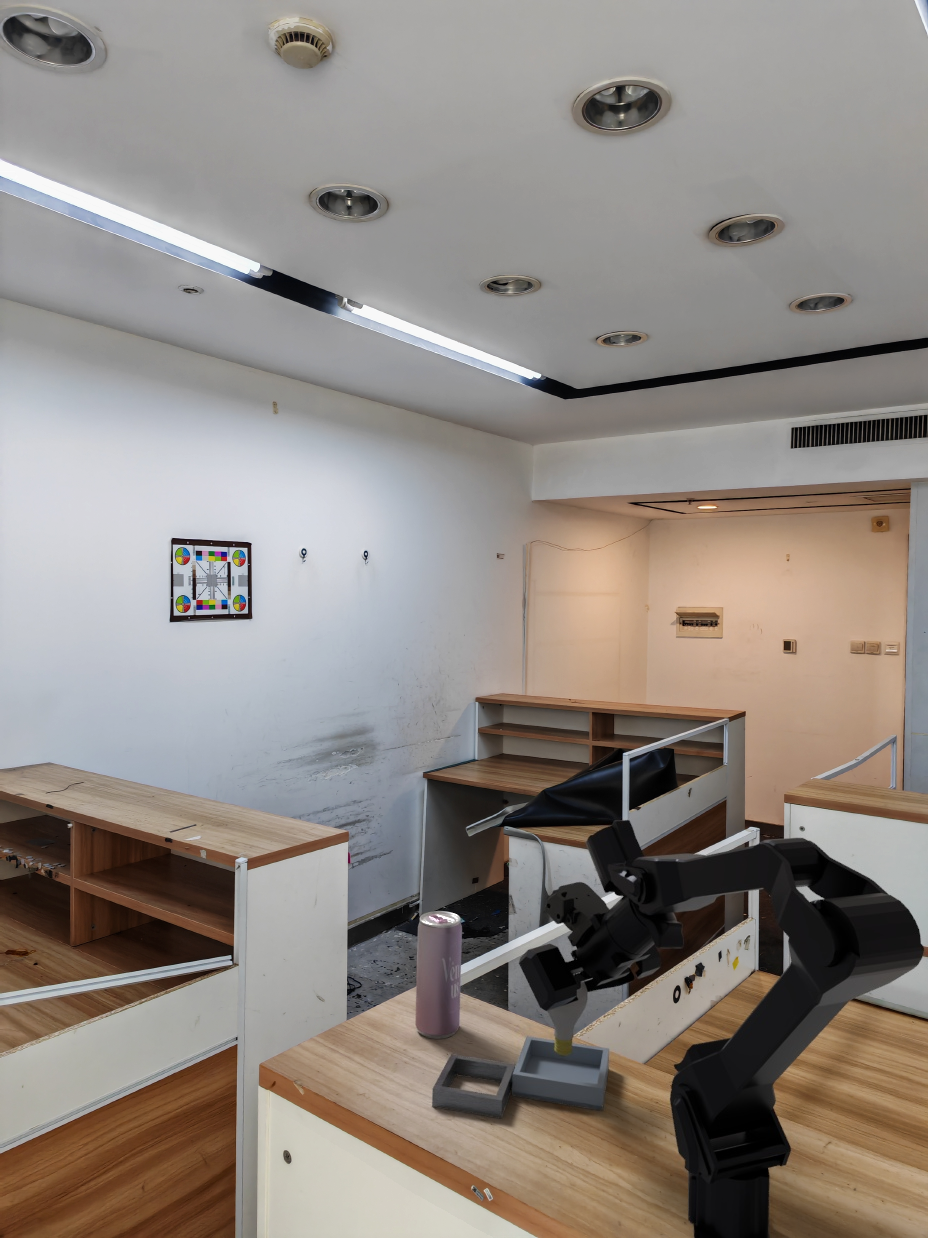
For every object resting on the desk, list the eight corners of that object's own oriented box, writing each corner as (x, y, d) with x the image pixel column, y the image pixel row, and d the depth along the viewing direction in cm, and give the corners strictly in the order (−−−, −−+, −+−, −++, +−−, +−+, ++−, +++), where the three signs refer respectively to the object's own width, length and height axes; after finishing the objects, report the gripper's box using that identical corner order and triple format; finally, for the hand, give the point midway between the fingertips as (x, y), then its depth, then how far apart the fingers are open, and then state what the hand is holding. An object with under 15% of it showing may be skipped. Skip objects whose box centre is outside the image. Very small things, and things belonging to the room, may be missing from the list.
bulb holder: (514, 1081, 98) (515, 1064, 98) (501, 1119, 90) (501, 1100, 90) (450, 1070, 100) (451, 1054, 100) (432, 1106, 92) (432, 1089, 92)
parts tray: (608, 1069, 101) (609, 1048, 101) (602, 1111, 92) (602, 1089, 92) (526, 1056, 104) (526, 1036, 104) (512, 1096, 95) (512, 1074, 95)
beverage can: (441, 1015, 114) (443, 907, 115) (468, 1031, 110) (471, 920, 110) (406, 1027, 111) (409, 916, 111) (433, 1045, 106) (436, 929, 106)
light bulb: (584, 1070, 95) (587, 982, 95) (538, 1064, 96) (540, 977, 96) (587, 1048, 100) (589, 965, 100) (543, 1042, 101) (545, 960, 101)
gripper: (643, 855, 101) (578, 920, 109) (532, 879, 90) (468, 950, 98) (695, 939, 95) (621, 1001, 103) (582, 976, 83) (510, 1042, 92)
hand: (556, 995), depth 99 cm, fingers closed on light bulb, 5 cm apart
